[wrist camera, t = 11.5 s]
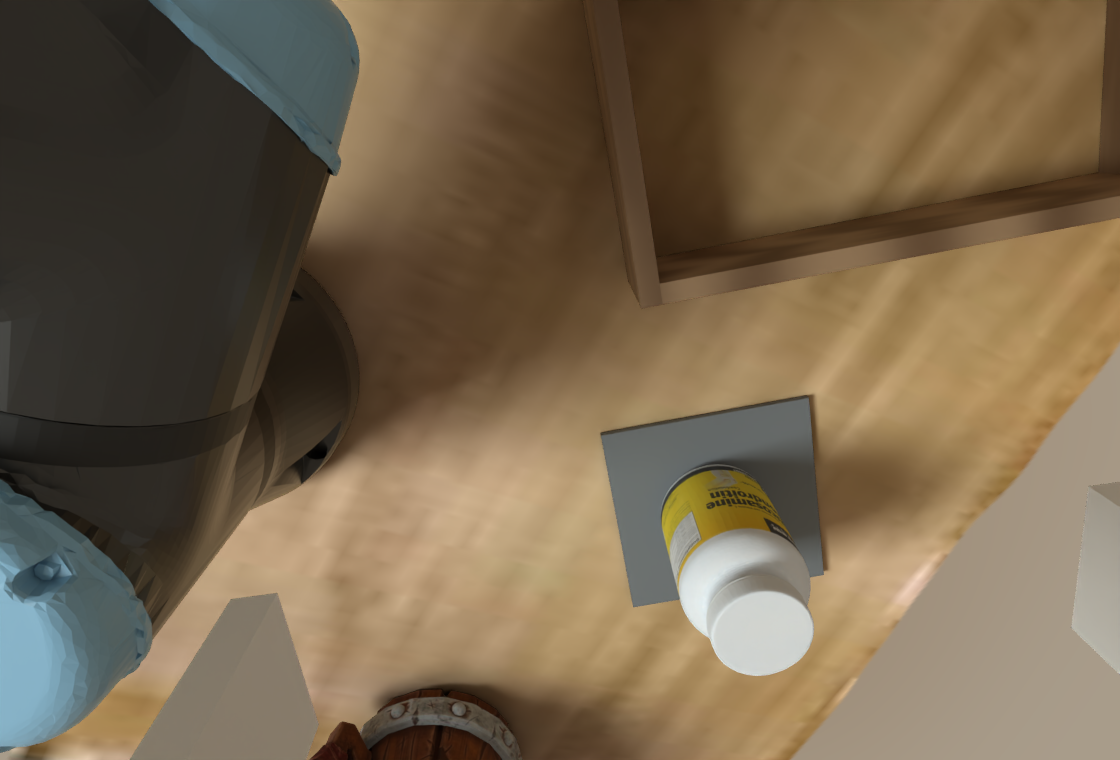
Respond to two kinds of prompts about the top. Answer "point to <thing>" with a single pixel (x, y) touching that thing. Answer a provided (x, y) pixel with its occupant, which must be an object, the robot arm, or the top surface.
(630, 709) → the top surface
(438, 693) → the mug
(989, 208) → the box frame
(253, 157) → the robot arm
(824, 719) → the top surface
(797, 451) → the slate mat
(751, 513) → the pill bottle
